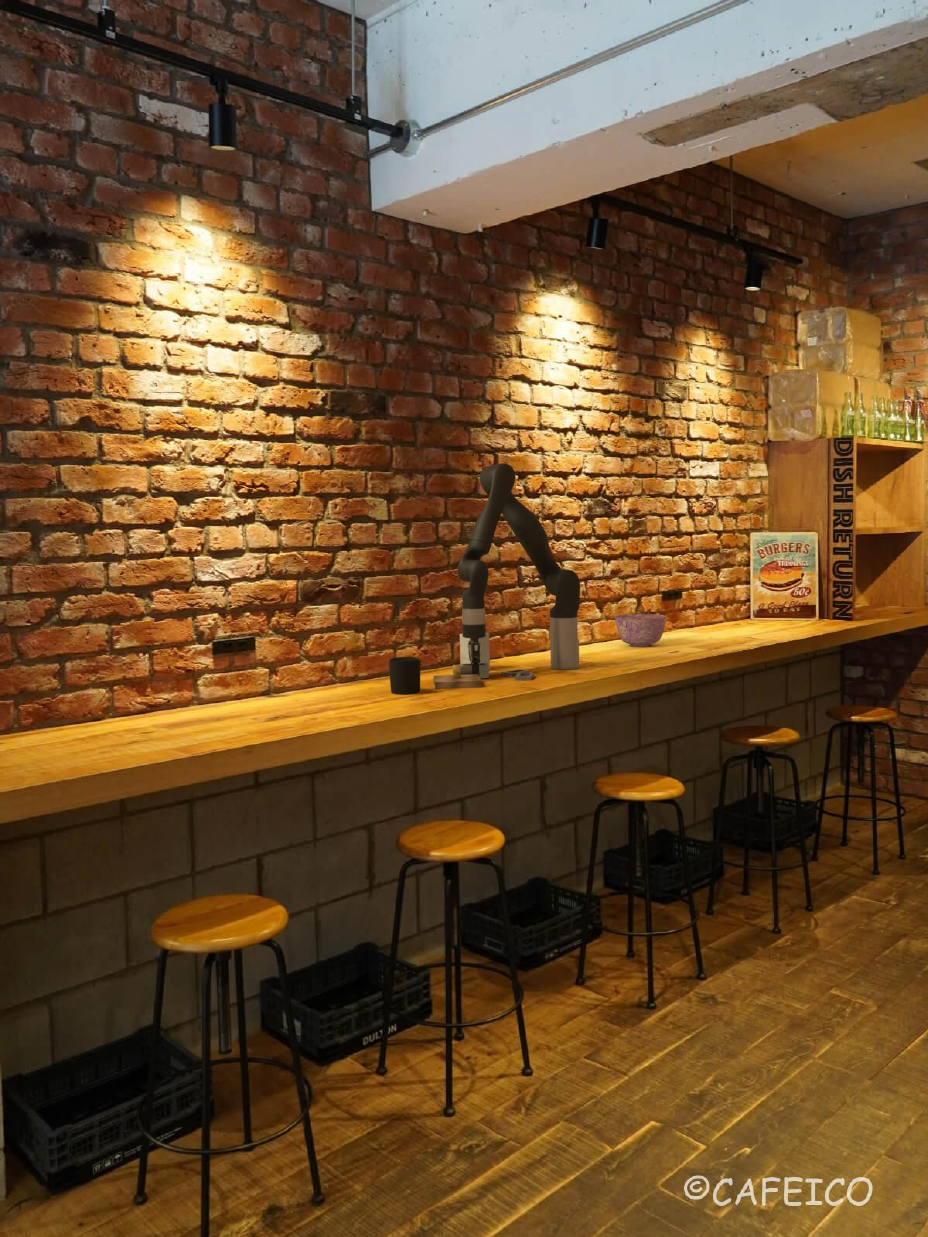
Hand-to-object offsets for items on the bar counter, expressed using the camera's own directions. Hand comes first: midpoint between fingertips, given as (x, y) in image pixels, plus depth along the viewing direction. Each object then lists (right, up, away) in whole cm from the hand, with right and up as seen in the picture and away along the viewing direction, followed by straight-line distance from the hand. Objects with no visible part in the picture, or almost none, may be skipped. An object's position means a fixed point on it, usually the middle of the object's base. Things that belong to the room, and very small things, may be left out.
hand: (474, 674), depth 335 cm
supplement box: (0, 0, +17) cm, 17 cm away
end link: (0, -1, 0) cm, 1 cm away
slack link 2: (+16, -1, -4) cm, 16 cm away
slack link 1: (+13, 0, +4) cm, 14 cm away
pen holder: (-21, -4, -25) cm, 33 cm away
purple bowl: (+66, +7, +73) cm, 99 cm away
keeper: (-6, -2, -13) cm, 14 cm away
